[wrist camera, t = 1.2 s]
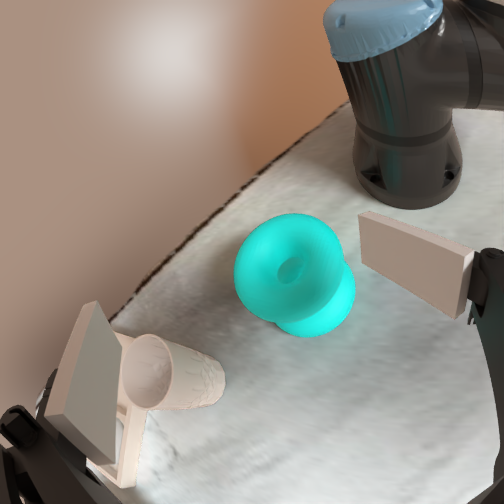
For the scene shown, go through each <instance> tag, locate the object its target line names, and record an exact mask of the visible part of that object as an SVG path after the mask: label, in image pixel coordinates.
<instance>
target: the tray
mask: <svg viewBox="0 0 504 504" xmlns="http://www.w3.org/2000/svg"><path fill="white" fill-rule="evenodd" d="M113 332H114V331H113ZM114 333H115V335H116V337H117V339H118V341H119V342H120V344H121V346H122V356H121V363H122V359H123V356H124V353H125V351H126V349H127V348H128V346H129V345H130V343H131V342H132V341H133V340H134V339H136V338H132V337H129V336H126V335H123V334H120V333H117V332H114ZM120 371H121V364H120ZM147 411H148V410H141V409H138V408H137V407H135V406H134V405H132V404H131V403H130V401H129V400H128V399H127V397H126V395H125V393H124V391H123V388H122V384H121V376H120V374H119V385H118V398H117V415H116V417H117V418H119V419H120V420H121V422H122V423H123V425H124V430H123V437H122V443H121V450H120V458H119V464H117V465H100V466H97V465H95V464H94V463H93V462H92V461H90V460H89V459H88V458H87V460H88V461H89V462H90V463H91V464H92V465H93V466H94V467H96V468H97V469H98V470H99V471H100V472H101V473H102V474H103V475H105V476H106V477H107V478H108V479H109V480H111V481H112V482H113V483H114V484H115V485H117V486H118V487H119V488H128V487H135V485H136V478H137V470H138V464H139V457H140V451H141V444H142V439H143V433H144V427H145V422H146V416H147Z"/></svg>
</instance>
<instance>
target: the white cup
mask: <svg viewBox="0 0 504 504" xmlns="http://www.w3.org/2000/svg"><path fill="white" fill-rule="evenodd" d="M120 376H121V384H122V388H123V391H124V393H125V395H126V397H127V399H128V400H129V401H130V403H131V404H132V405H134V406H135V407H137V408H138V409H141V410H181V409H191V408H197V407H206V406H209V405H212V404H215V403H216V402H217V401H218V399H219V398H220V397H221V396H222V394H223V391H224V388H225V385H226V381H225V372H224V370H223V368H222V366H221V365H220V363H219V362H218V361H217V360H215V359H214V358H213V357H211V356H209V355H206V354H203V353H200V352H198V351H196V350H194V349H190V348H188V347H186V346H183V345H180V344H177V343H175V342H172V341H169V340H167V339H164V338H161V337H159V336H156V335H153V334H144V335H141V336H139V337H137V338H136V339H134V340H133V341H132V342H131V343H130V345H129V346H128V348H127V349H126V351H125V353H124V356H123V359H122V363H121V371H120Z"/></svg>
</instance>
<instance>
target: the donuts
mask: <svg viewBox="0 0 504 504" xmlns="http://www.w3.org/2000/svg"><path fill="white" fill-rule="evenodd" d="M234 284H235V289H236V292H237V294H238V296H239V298H240V300H241V301H242V303H243V304H244V306H245V307H246V308H247V309H248V310H249V311H250V312H252V313H253V314H254V315H256V316H258V317H259V318H261V319H264V320H266V321H270V322H275V323H276V325H277V326H278V327H280V328H281V329H282V330H284V331H285V332H287V333H289V334H291V335H294V336H298V337H316V336H320V335H323V334H325V333H328V332H330V331H331V330H333V329H334V328H336V327H337V326H338V325H339V324H340V323H342V321H343V320H344V319H345V318H346V316H347V315H348V313H349V312H350V310H351V308H352V305H353V302H354V298H355V280H354V277H353V274H352V271H351V269H350V267H349V266H348V264H347V263H346V262H345V261H344V255H343V250H342V247H341V244H340V242H339V239H338V238H337V236H336V234H335V233H334V232H333V230H332V229H331V228H330V227H329V226H328V225H326V224H325V223H324V222H322V221H321V220H319V219H317V218H315V217H313V216H309V215H305V214H297V213H293V214H284V215H280V216H277V217H274V218H272V219H269V220H267V221H266V222H264V223H262V224H261V225H260V226H258V227H257V228H256V229H255V230H253V231H252V232H251V233H250V235H249V236H248V237H247V238H246V239H245V241H244V242H243V244H242V246H241V247H240V249H239V251H238V254H237V256H236V260H235V264H234Z"/></svg>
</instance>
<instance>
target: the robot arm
mask: <svg viewBox="0 0 504 504" xmlns="http://www.w3.org/2000/svg"><path fill="white" fill-rule="evenodd" d="M323 25H324V28H325V31H326V34H327V37H328V40H329V43H330V46H331V54H332V56H333V58H334V59H335V60H336V62H337V64H338V67H339V70H340V72H341V75H342V78H343V81H344V84H345V86H346V89H347V92H348V96H349V99H350V102H351V105H352V109H353V112H354V115H355V118H356V122H357V124H356V132H355V139H354V146H353V162H354V166H355V169H356V173H357V176H358V179H359V181H360V183H361V184H362V186H363V187H364V188H365V189H366V190H367V191H368V192H369V193H370V194H371V195H372V196H373V197H375V198H376V199H378V200H380V201H381V202H384V203H386V204H388V205H391V206H394V207H398V208H404V209H423V208H428V207H432V206H435V205H437V204H439V203H441V202H443V201H444V200H446V199H447V198H448V197H450V196H451V195H452V194H453V192H454V191H455V190H456V188H457V186H458V184H459V181H460V178H461V172H462V153H461V149H460V146H459V143H458V139H457V136H456V133H455V130H454V127H453V124H452V109H453V108H460V109H481V110H495V111H504V0H336V1H334V2H333V3H332V4H331V5H330V6H329V7H328V8H327V10H326V11H325V13H324V16H323ZM358 219H359V230H360V243H361V258H362V263H363V264H365V265H366V266H368V267H370V268H371V269H373V270H375V271H377V272H378V273H380V274H382V275H383V276H385V277H387V278H388V279H390V280H392V281H393V282H395V283H397V284H398V285H400V286H402V287H403V288H405V289H407V290H408V291H410V292H411V293H413V294H415V295H416V296H418V297H420V298H421V299H423V300H424V301H426V302H428V303H429V304H431V305H432V306H434V307H436V308H437V309H439V310H440V311H442V312H443V313H445V314H447V315H448V316H450V317H451V318H453V319H454V320H455V319H456V318H457V317H458V316H459V315H461V314H462V313H463V312H464V311H465V307H466V302H467V298H468V299H469V300H471V301H472V305H471V309H470V313H469V318H468V325H470V322H471V319H472V318H474V322H473V324H476V325H477V329H478V332H479V335H480V338H481V342H482V345H483V349H484V353H485V356H486V360H487V364H488V368H489V373H490V377H491V382H492V387H493V392H494V397H495V403H496V410H497V417H498V425H499V434H500V450H499V453H498V456H497V458H496V461H495V465H494V479H493V484H492V485H491V486H490V487H489V488H487V489H486V490H485V491H483V492H482V493H481V494H479V495H478V496H477V497H475V498H474V499H472V500H471V501H469V502H468V503H467V504H504V252H503V251H502V250H499V249H496V248H485V249H483V250H481V252H480V253H478V252H476V251H474V250H473V249H471V248H468V247H466V246H463V245H461V244H458V243H456V242H453V241H451V240H448V239H446V238H443V237H441V236H438V235H436V234H433V233H430V232H428V231H425V230H422V229H419V228H417V227H414V226H411V225H408V224H406V223H403V222H400V221H397V220H394V219H391V218H388V217H385V216H382V215H379V214H376V213H373V212H370V211H368V212H365V213H362V214H359V215H358ZM121 356H122V346H121V344H120V342H119V341H118V339H117V337H116V335H115V333H114V332H113V330H112V328H111V326H110V324H109V322H108V320H107V318H106V317H105V315H104V313H103V311H102V309H101V307H100V305H99V303H98V300H96V301H93V302H90V303H87V304H84V305H83V307H82V309H81V312H80V314H79V317H78V318H77V321H76V323H75V326H74V328H73V331H72V333H71V336H70V338H69V341H68V343H67V346H66V348H65V351H64V354H63V357H62V359H61V362H60V365H59V368H57V369H55V370H54V371H53V373H52V374H51V376H50V377H49V379H48V381H47V384H46V387H45V389H46V390H44V393H43V398H42V400H41V403H40V406H39V409H38V413H37V416H36V420H35V419H34V418H33V417H32V416H31V414H30V413H29V412H28V411H27V410H26V409H25V408H24V407H23V406H21V405H16V406H13V407H11V408H9V409H8V410H7V411H6V412H5V413H4V414H3V416H2V418H1V419H0V433H1V434H2V435H3V436H4V437H5V438H6V439H7V440H8V441H9V442H10V443H11V444H12V445H13V447H10V448H8V449H5V448H4V447H3V446H2V445H1V444H0V504H23V503H22V501H21V499H20V496H21V497H22V498H24V501H25V504H122V503H121V502H120V501H119V500H118V499H117V498H116V497H115V496H114V495H113V494H112V493H111V491H110V490H109V489H108V488H107V487H106V486H105V485H104V484H103V483H102V482H101V481H100V480H99V478H98V477H97V476H96V475H95V474H94V473H93V472H92V471H91V470H90V469H89V468H88V467H86V459H87V458H88V459H89V460H90V461H92V462H93V463H94V464H95V465H97V466H100V465H110V464H116V415H117V398H118V385H119V374H120V364H121Z"/></svg>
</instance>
